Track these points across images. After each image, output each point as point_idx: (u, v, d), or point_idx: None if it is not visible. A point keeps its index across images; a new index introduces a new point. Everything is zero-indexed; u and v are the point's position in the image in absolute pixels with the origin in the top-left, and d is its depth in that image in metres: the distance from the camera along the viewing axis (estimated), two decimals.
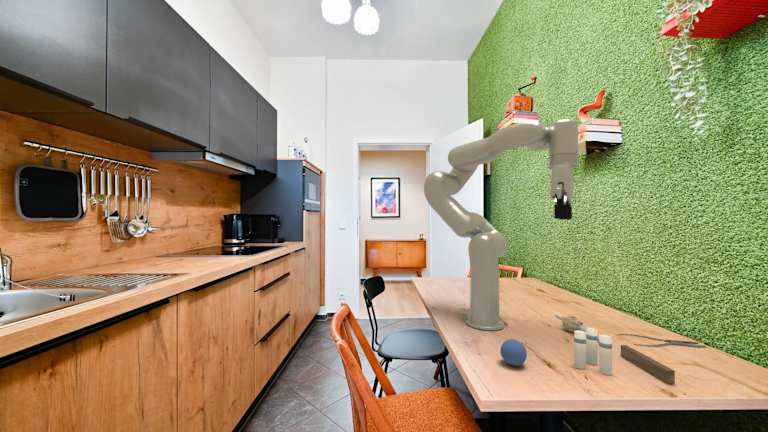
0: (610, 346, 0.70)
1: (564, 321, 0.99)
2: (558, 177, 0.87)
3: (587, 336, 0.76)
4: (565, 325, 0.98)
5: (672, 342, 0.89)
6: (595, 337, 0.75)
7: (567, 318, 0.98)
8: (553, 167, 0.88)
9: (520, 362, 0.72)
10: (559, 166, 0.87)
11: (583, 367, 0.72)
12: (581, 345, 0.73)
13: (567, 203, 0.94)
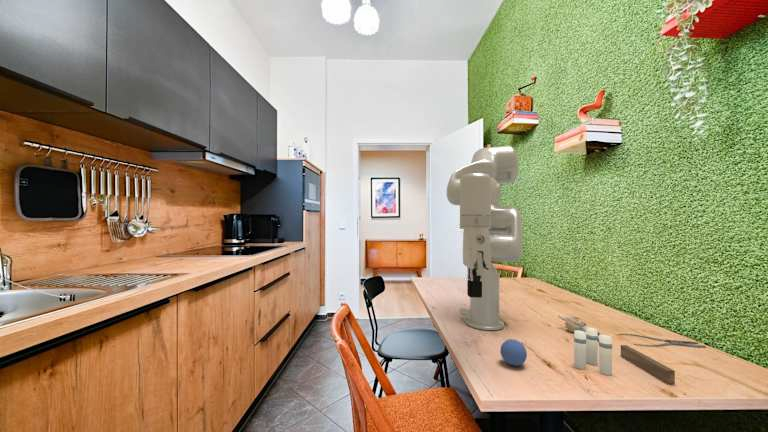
0: (610, 346, 0.70)
1: (567, 322, 0.98)
2: None
3: (587, 336, 0.76)
4: (568, 326, 0.97)
5: (672, 342, 0.89)
6: (595, 337, 0.75)
7: (570, 319, 0.98)
8: None
9: (520, 362, 0.72)
10: None
11: (583, 367, 0.72)
12: (581, 345, 0.73)
13: None
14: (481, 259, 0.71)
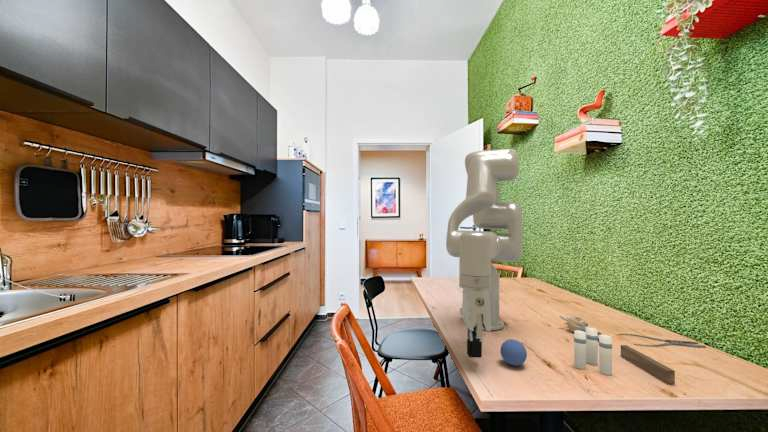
0: (610, 346, 0.70)
1: (569, 322, 0.98)
2: None
3: (587, 336, 0.76)
4: (570, 326, 0.97)
5: (672, 342, 0.89)
6: (595, 337, 0.75)
7: (572, 319, 0.97)
8: None
9: (520, 362, 0.72)
10: None
11: (583, 367, 0.72)
12: (581, 345, 0.73)
13: None
14: (481, 322, 0.70)
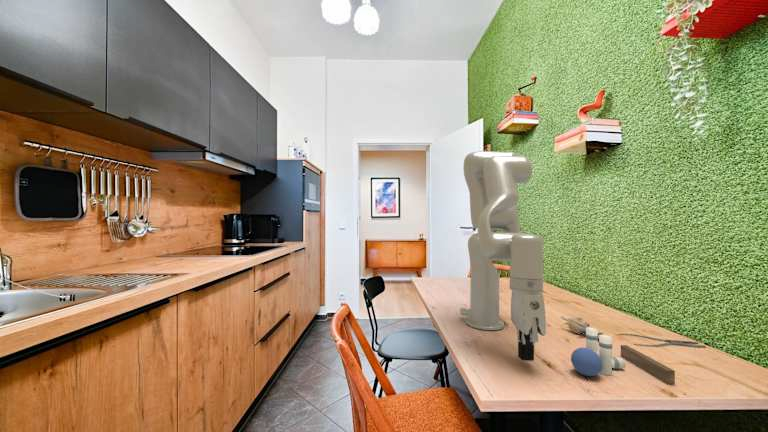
0: (610, 346, 0.70)
1: (570, 322, 0.97)
2: None
3: (587, 336, 0.76)
4: (571, 327, 0.97)
5: (672, 342, 0.89)
6: (595, 337, 0.75)
7: (573, 319, 0.97)
8: None
9: (597, 370, 0.67)
10: None
11: None
12: (612, 363, 0.72)
13: None
14: (536, 325, 0.70)
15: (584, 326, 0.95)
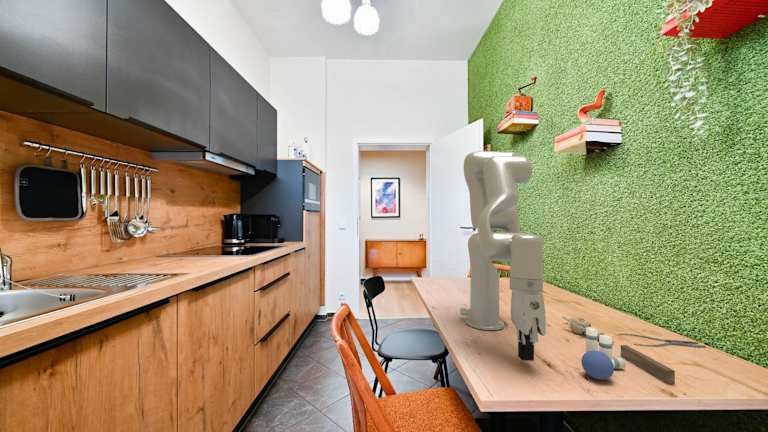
0: (610, 346, 0.70)
1: (572, 323, 0.97)
2: None
3: (587, 336, 0.76)
4: (573, 327, 0.96)
5: (672, 342, 0.89)
6: (595, 337, 0.75)
7: (575, 320, 0.97)
8: None
9: (603, 379, 0.66)
10: None
11: None
12: (613, 364, 0.72)
13: None
14: (536, 325, 0.70)
15: (586, 326, 0.94)
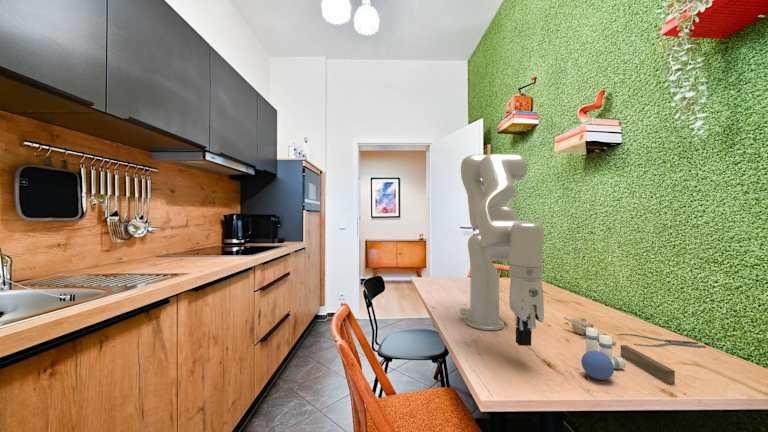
0: (610, 346, 0.70)
1: (574, 323, 0.97)
2: None
3: (587, 336, 0.76)
4: (575, 327, 0.96)
5: (672, 342, 0.89)
6: (595, 337, 0.75)
7: (577, 320, 0.96)
8: None
9: (603, 379, 0.66)
10: None
11: None
12: None
13: None
14: (534, 312, 0.71)
15: None
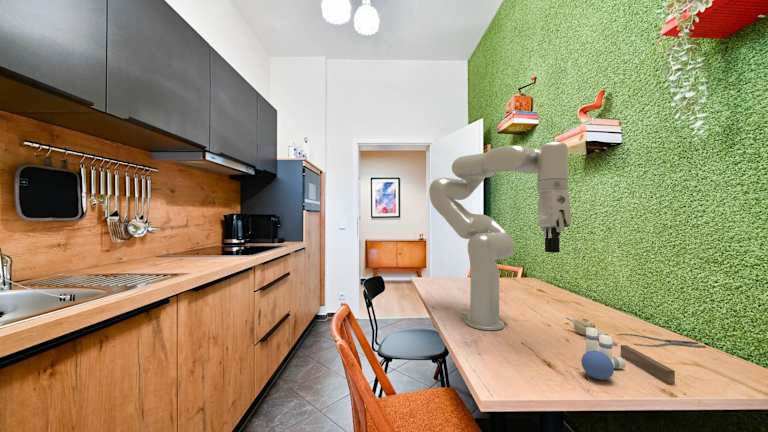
0: (610, 346, 0.70)
1: (576, 323, 0.96)
2: None
3: (587, 336, 0.76)
4: (577, 328, 0.96)
5: (672, 342, 0.89)
6: (595, 337, 0.75)
7: (579, 320, 0.96)
8: None
9: (603, 379, 0.66)
10: None
11: None
12: None
13: None
14: (562, 217, 0.80)
15: None
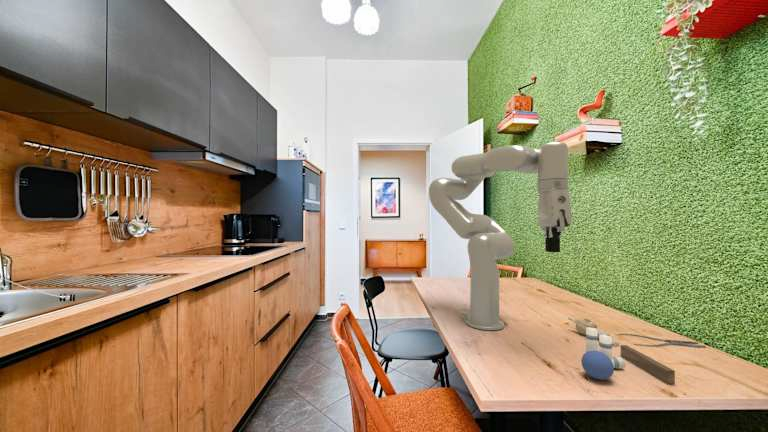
0: (610, 346, 0.70)
1: (577, 324, 0.96)
2: None
3: (587, 336, 0.76)
4: (578, 328, 0.95)
5: (672, 342, 0.89)
6: (595, 337, 0.75)
7: (580, 321, 0.96)
8: None
9: (603, 379, 0.66)
10: None
11: None
12: None
13: None
14: (562, 217, 0.81)
15: (591, 327, 0.94)
